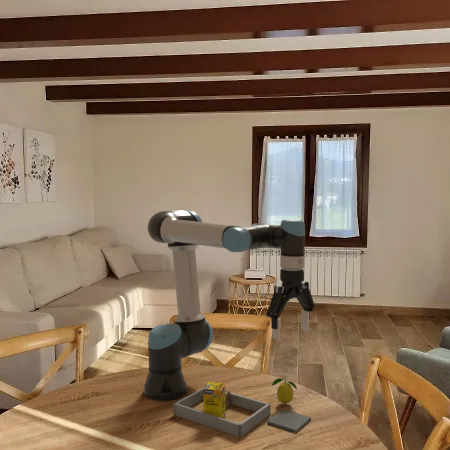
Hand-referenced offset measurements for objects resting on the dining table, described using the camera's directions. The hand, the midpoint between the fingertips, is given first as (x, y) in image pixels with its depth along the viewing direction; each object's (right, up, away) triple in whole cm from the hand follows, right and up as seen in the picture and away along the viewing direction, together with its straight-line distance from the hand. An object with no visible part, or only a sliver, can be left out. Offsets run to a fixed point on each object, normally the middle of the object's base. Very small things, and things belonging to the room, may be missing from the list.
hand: (290, 334), depth 157 cm
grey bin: (-22, -26, +2) cm, 34 cm away
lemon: (-1, -26, +9) cm, 27 cm away
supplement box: (-24, -27, -2) cm, 36 cm away
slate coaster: (-1, -26, -3) cm, 27 cm away
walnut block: (-23, -26, +8) cm, 35 cm away
